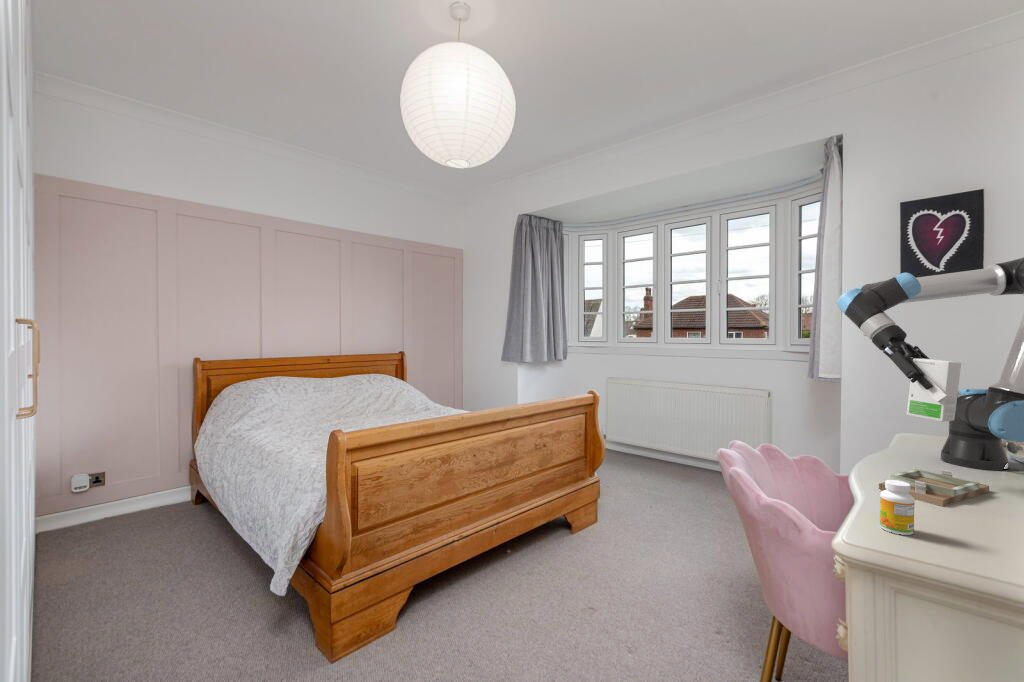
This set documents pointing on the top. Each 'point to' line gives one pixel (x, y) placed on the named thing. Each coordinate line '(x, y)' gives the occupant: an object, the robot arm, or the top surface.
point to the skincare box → (946, 379)
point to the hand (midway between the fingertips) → (949, 398)
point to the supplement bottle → (897, 508)
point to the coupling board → (938, 486)
